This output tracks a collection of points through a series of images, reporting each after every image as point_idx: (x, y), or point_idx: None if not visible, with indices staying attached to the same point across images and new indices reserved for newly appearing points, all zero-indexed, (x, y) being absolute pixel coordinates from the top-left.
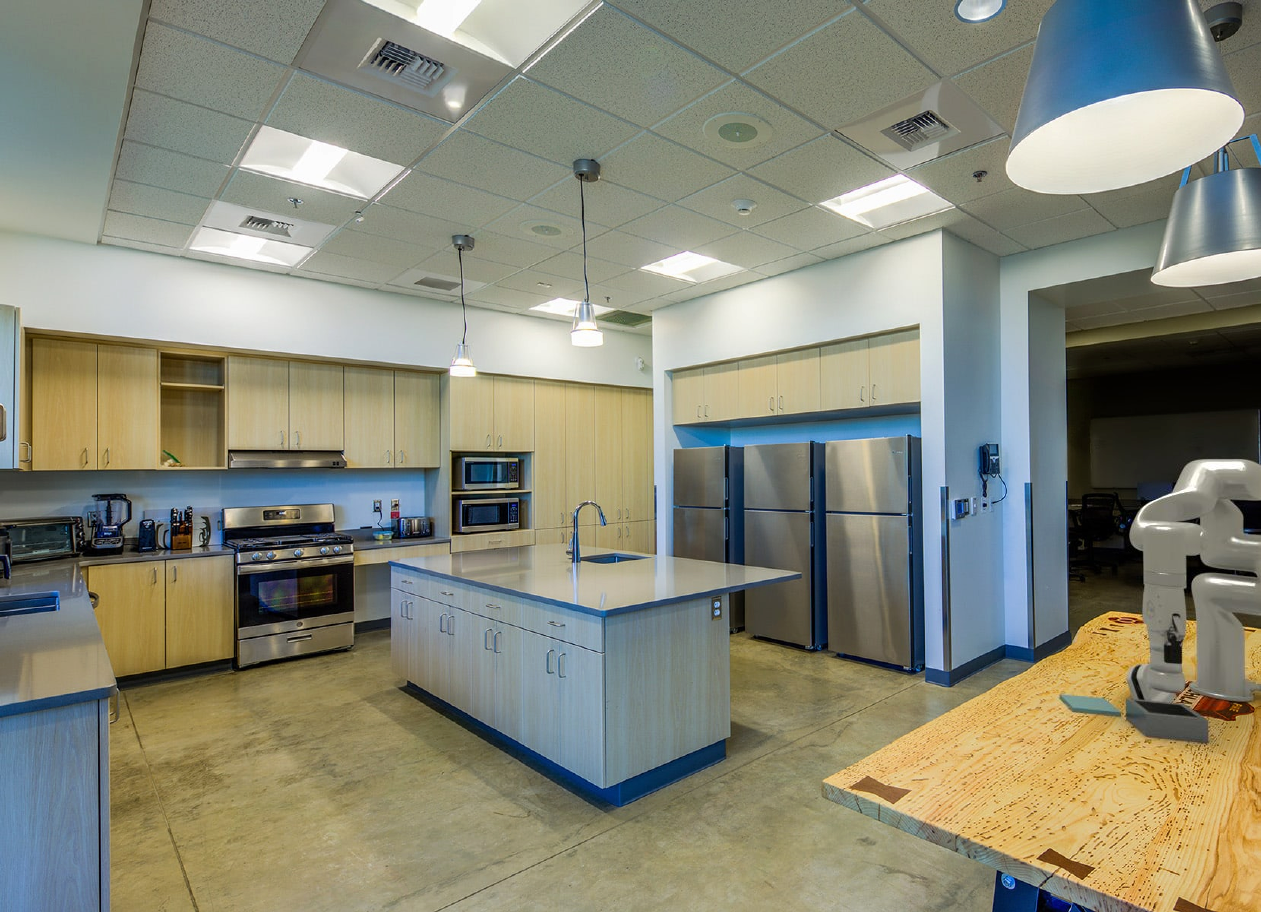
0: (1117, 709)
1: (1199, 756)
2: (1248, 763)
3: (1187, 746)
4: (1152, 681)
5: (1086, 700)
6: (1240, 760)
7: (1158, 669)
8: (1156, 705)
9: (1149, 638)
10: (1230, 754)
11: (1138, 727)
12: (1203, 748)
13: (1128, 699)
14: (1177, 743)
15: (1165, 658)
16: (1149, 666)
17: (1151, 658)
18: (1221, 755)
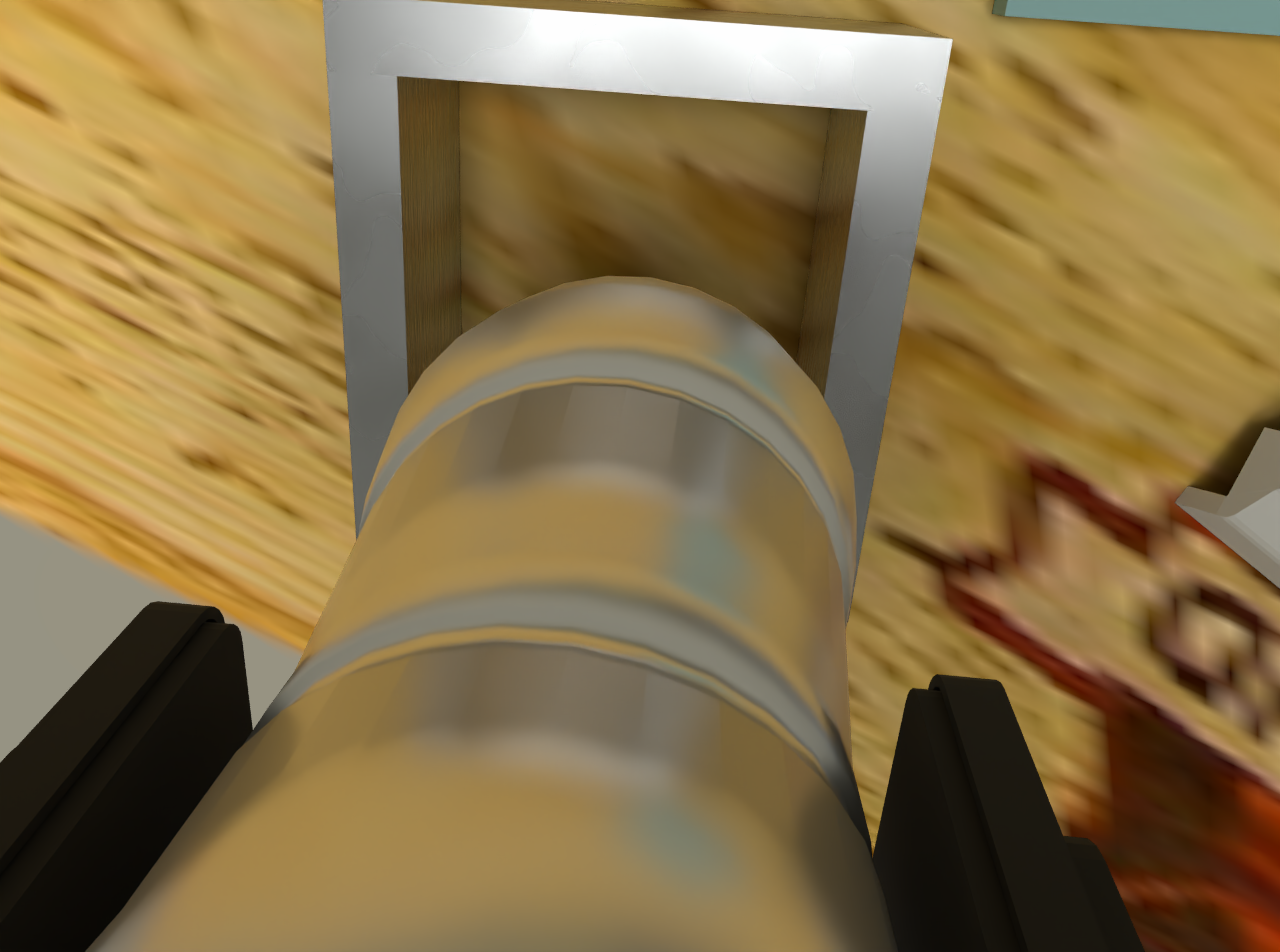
0: (1103, 17)
1: (63, 249)
2: (84, 535)
3: (280, 271)
4: (537, 297)
5: None
6: (123, 514)
7: (425, 456)
8: (826, 346)
9: (504, 904)
10: (227, 511)
11: (576, 1)
12: (283, 381)
13: (902, 51)
14: (326, 220)
15: (108, 661)
16: (706, 416)
17: (577, 501)
18: (173, 436)
